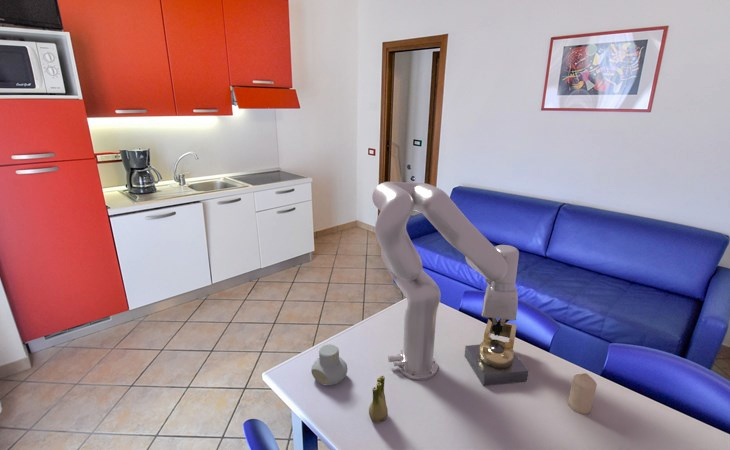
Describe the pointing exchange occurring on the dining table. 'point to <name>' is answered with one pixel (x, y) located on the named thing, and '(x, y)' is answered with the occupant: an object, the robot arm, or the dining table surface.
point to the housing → (495, 369)
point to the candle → (582, 393)
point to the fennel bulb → (378, 402)
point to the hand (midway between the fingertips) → (496, 333)
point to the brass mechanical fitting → (498, 346)
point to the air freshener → (329, 366)
